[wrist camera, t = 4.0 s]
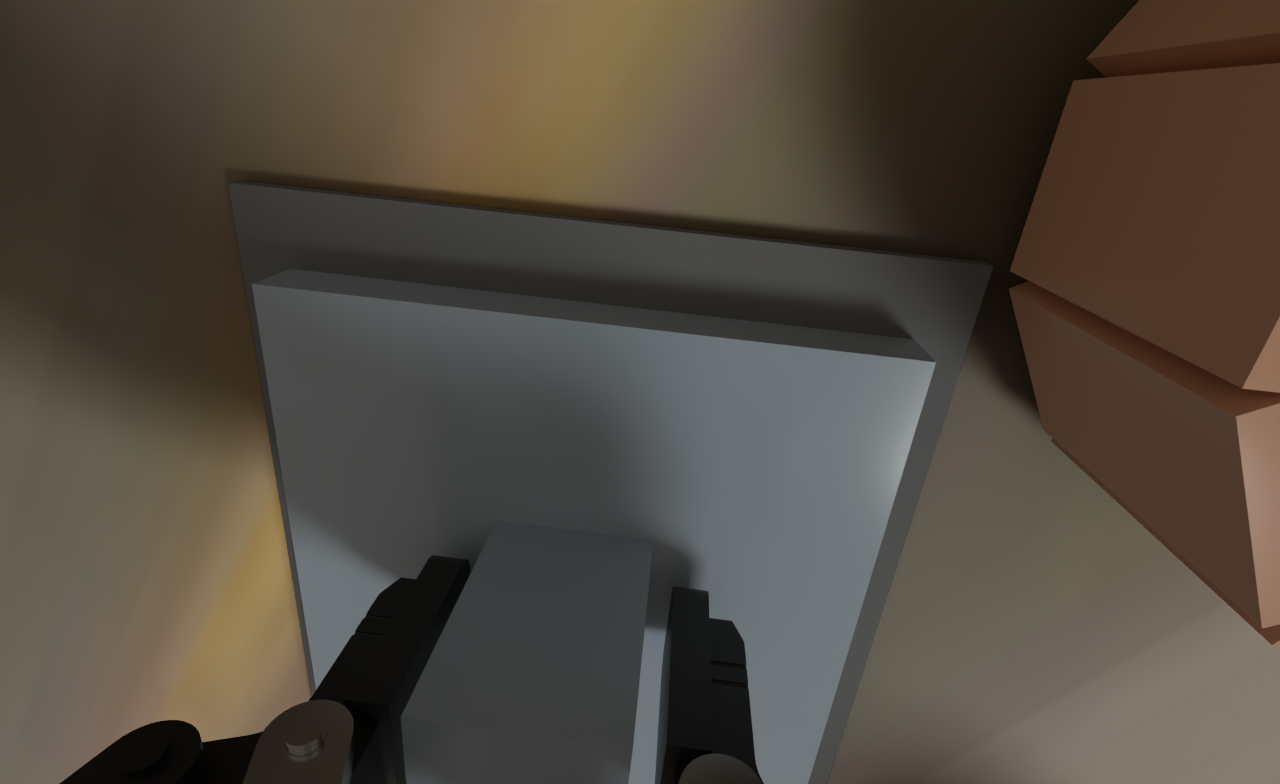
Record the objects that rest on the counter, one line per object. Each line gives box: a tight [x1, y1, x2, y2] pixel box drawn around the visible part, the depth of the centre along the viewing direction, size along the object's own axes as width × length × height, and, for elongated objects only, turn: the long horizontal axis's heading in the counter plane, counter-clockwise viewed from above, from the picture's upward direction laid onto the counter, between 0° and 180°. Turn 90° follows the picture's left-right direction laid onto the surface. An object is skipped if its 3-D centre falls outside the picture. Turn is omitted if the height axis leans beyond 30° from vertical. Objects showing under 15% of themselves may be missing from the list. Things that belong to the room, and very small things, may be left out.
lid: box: [252, 269, 936, 784], centre depth 12 cm, size 12×12×6 cm
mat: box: [228, 181, 993, 784], centre depth 15 cm, size 15×14×1 cm
